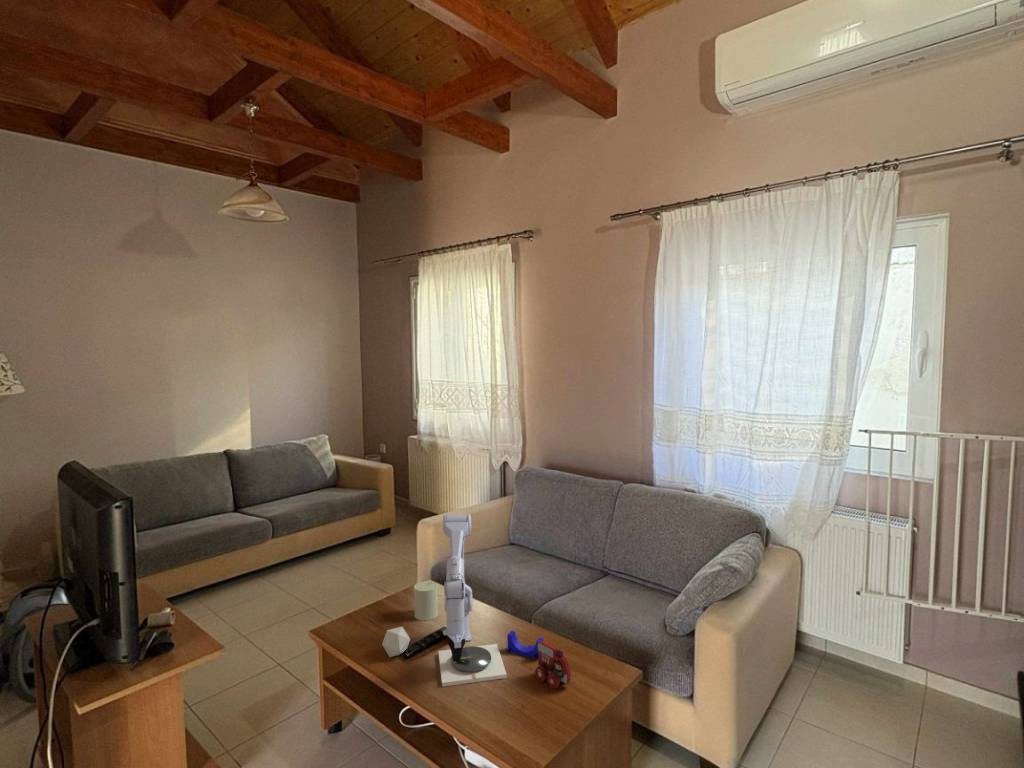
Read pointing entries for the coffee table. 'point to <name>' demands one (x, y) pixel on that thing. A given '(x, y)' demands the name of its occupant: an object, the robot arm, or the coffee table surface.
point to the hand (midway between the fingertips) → (456, 657)
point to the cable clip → (518, 648)
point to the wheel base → (462, 677)
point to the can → (426, 600)
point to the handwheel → (472, 659)
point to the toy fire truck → (552, 665)
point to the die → (395, 641)
